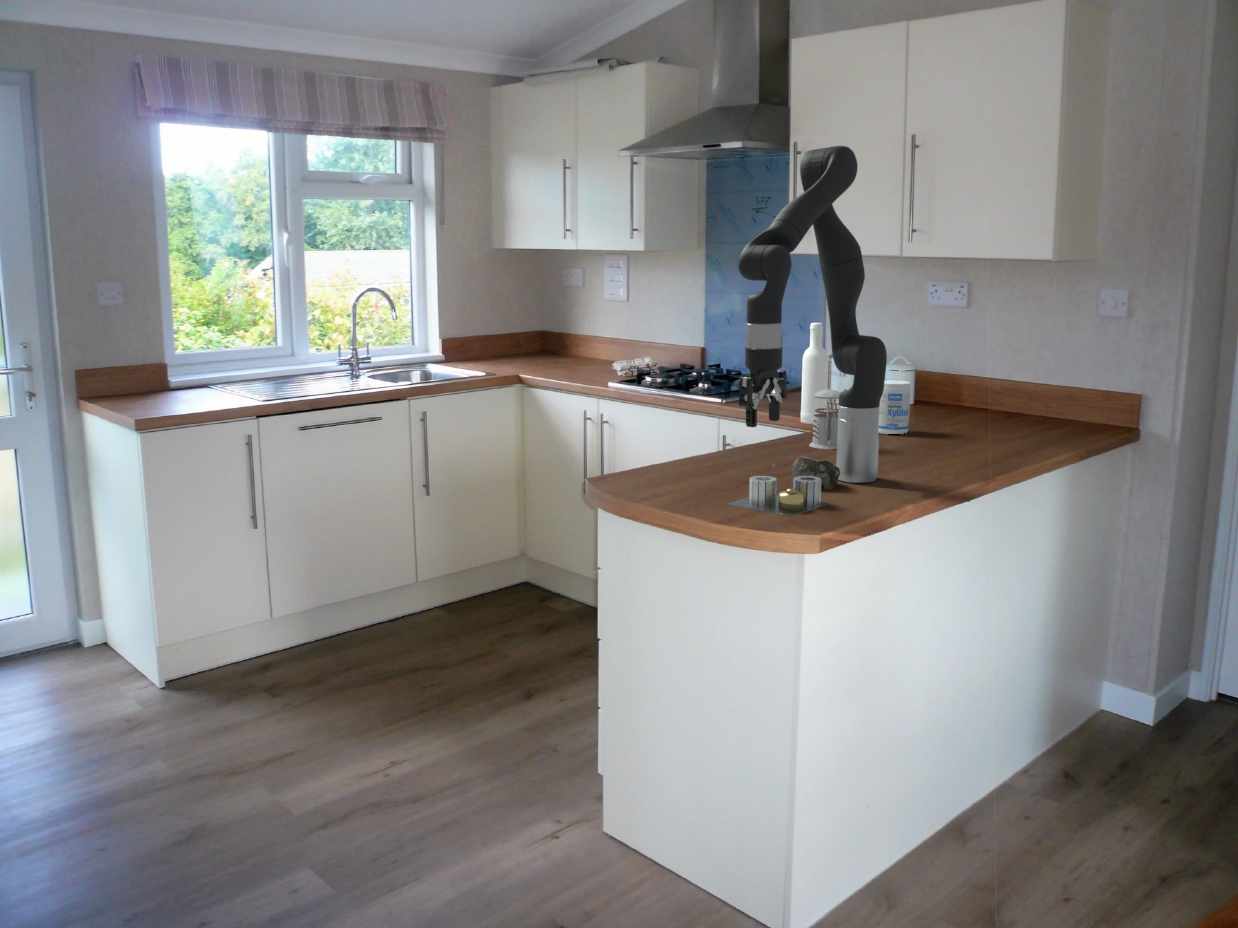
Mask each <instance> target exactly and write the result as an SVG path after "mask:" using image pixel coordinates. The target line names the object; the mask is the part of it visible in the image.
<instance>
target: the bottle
mask: <svg viewBox="0 0 1238 928" xmlns="http://www.w3.org/2000/svg"><path fill="white" fill-rule="evenodd" d="M809 330H810V331H809V332H810V333H809V334H810V335H809V347H808V348H806V349H805V350H804V353H803V355H802V362H801V364H802V365H801V366H802V367H801V369H802V370H801V401H800V403H801V404H800V422H801V423H802V424H806V425H813V423H814V420H813V417H814V415H816V414H823V413H818V412H816V411H815V410H816V409H818V408H827V403H828V399H820V398H815V397H814V394H816V393H817V392H819V391H822V390H827V389H829V362H830V358H827V354H828V351H827V350H826V349H825V348H824V347H823V330H824V324H823V323H822V322H811V323H810V326H809ZM815 423H816V424H819V423H818V422H815Z"/></svg>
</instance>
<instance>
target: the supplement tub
mask: <svg viewBox="0 0 1238 928" xmlns="http://www.w3.org/2000/svg"><path fill="white" fill-rule="evenodd" d="M911 385H912V384H911V382H910V381H906V380H898V379H897V380H895V379H885V383H884V391H883V394H882V396H881V399H880V408H879V432H878V434H880V435H881V434H882V435H888V434H901V435H905V434H907V433H908V431H909V421H910V410H911V409H910V407H911V391H912V390H911V388H912V387H911ZM904 433H905V434H904Z"/></svg>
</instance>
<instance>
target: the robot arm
mask: <svg viewBox="0 0 1238 928" xmlns="http://www.w3.org/2000/svg"><path fill="white" fill-rule="evenodd" d="M857 174H858V161H857V157H856V154H855V152H854V151H853V149H851V148H850V147H848V146H846V145H834V146H829V147H821V148H815V149H810V150H807V151H806V152H804V153H803V155H802V157H801V159H800V164H799V175H800V181H801V186H802V189H803V193H800V195H798V196H797V197H795V198H794V199H792V200H791V201H789V203H787V204H786V205H785V206H784V207H782V209H781V210H779V213H778V214H777V215H776V216H775V218H774V219H773V221H772V222H771V224H770V225H769V226H768V227H767V228H766V229H765V230H764V231H762V232H761V233H759V234H758V235H757V236H755V237H754V238H753V239H751V240H750V241H749V242H748V243H747V244H746V245H745V246H744V247H743V249H742V250H741V252H740V255H739V258H738V263H737V264H738V265H737V266H738V271H739V273H740V275H741V276H742V277H743V278H744V279H746V280H749V281H763V282H765V281H766V282H765V286H764V289H763V290H762V291H760V292H755V293H752V294H750V295H749V296H748V297H747V301H746V326H745V327H746V328H745V334H744V335H745V336H744V339H745V340H744V343H745V344H744V346H745V347H744V352H745V353H744V367H745V368H746V369H747V370H749V376H740V378H739V383H738V384H739V386H738V387H739V389H738V406H739V407H743V408H744V409H745V426H746V427H748V428H756V427H757V426H758V409H757V407H758V405H759V403H760V401H761V400H763V398H764V396H766V397H767V399H768V401H769V402H768V420H769V421H772V422H778V421H780V416H781V413H780V412H781V403H782V402H783V400H785V399H787V395H788V393H787V389H788V387H787V385H788V384H787V381H788V380H787V370H782V367H783V343H784V342H783V339H784V338H783V335H784V334H783V326H782V322H783V321H782V318H783V317H782V315H783V313H782V310H783V305H782V304H783V300H784V296H785V293H786V288H787V285H788V280H789V277H790V274H791V271H792V257H791V253H793V252H794V251H795V250H796V249H797V247H798V246H799V245H800V243H801V242H802V240H803V239H804V238H805V236H806V234H807V233H808V231H809V230H810V228H811V227H813V230H814V237H815V240H816V241H815V242H816V246H817V253H818V260H819V266H820V271H821V276H822V281H823V282H822V283H823V286H824V292H825V298H826V299H825V300H826V305H827V311H828V316H829V317H828V318H829V329H830V342H831V343H830V344H831V353H832V354H833V358H832V359H833V363H834V365H835V367H836V369H837V370H838V371H839V372H841V373H842V374H845V375H849V376H853V382H852V385H851V387H850V388H849V389H846V390H843V391H840V392H841V393H840V395H839V399H838V407H837V409H838V413H837V414H838V435H837V449H836V460H835V461H836V462H835V463H836V464H835V466H836V467H838V468H839V469H840V476H839V478H838V480H839V481H841V482H846V483H857V484H858V483H860V484H861V483H862V484H863V483H864V484H865V483H871V482H875V481H876V480H877V477H878V470H879V469H878V468H879V467H878V465H879V449H880V447H879V446H880V439H879V433H878V432H879V408H880V399H881V396H882V394H883V391H884V383H885V380H886V374H887V373H886V370H887V359H888V355H887V347H886V346H885V343H884V341H883V340H882V339H881V338H879V337H876V336H872V335H863V334H860V332H859V329H858V322H857V311H856V310H857V305H858V301H859V300H860V299H859V298H860V296H861V294H862V290H863V287H864V283H865V279H866V278H865V277H866V276H865V275H866V274H865V266H864V260H863V254H862V248H861V246H860V244H859V242H858V241H857V239H856V237H855V236H854V235H853V233H852V232H851V231H850V230H849V229H848V227H847V226H846V225H845V224H844V222H843V221H842V220H841V219H840V217H839V215H838V214H837V212H836V210H835V208H834V206H833V203H835V202H836V201H837V199H839V198H840V197H841V196H842V195H843V194H844V193H845V192H846V191H847V190H848V189H849V188H850V187H851V186H852V184H853V183H854V181H855V180H856V178H857ZM780 388H781V389H780ZM745 396H746V397H745Z"/></svg>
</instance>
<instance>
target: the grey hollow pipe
mask: <svg viewBox="0 0 1238 928" xmlns="http://www.w3.org/2000/svg"><path fill="white" fill-rule="evenodd" d="M792 489H796V490H797V491H799V492H803V493H804V505H805V506H806V505H807V506H813V505H818V504H820V503H821V502H822V501H821V500H822V485H821V478H818V477H814V476H799V477H795V478H794V488H792Z"/></svg>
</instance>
